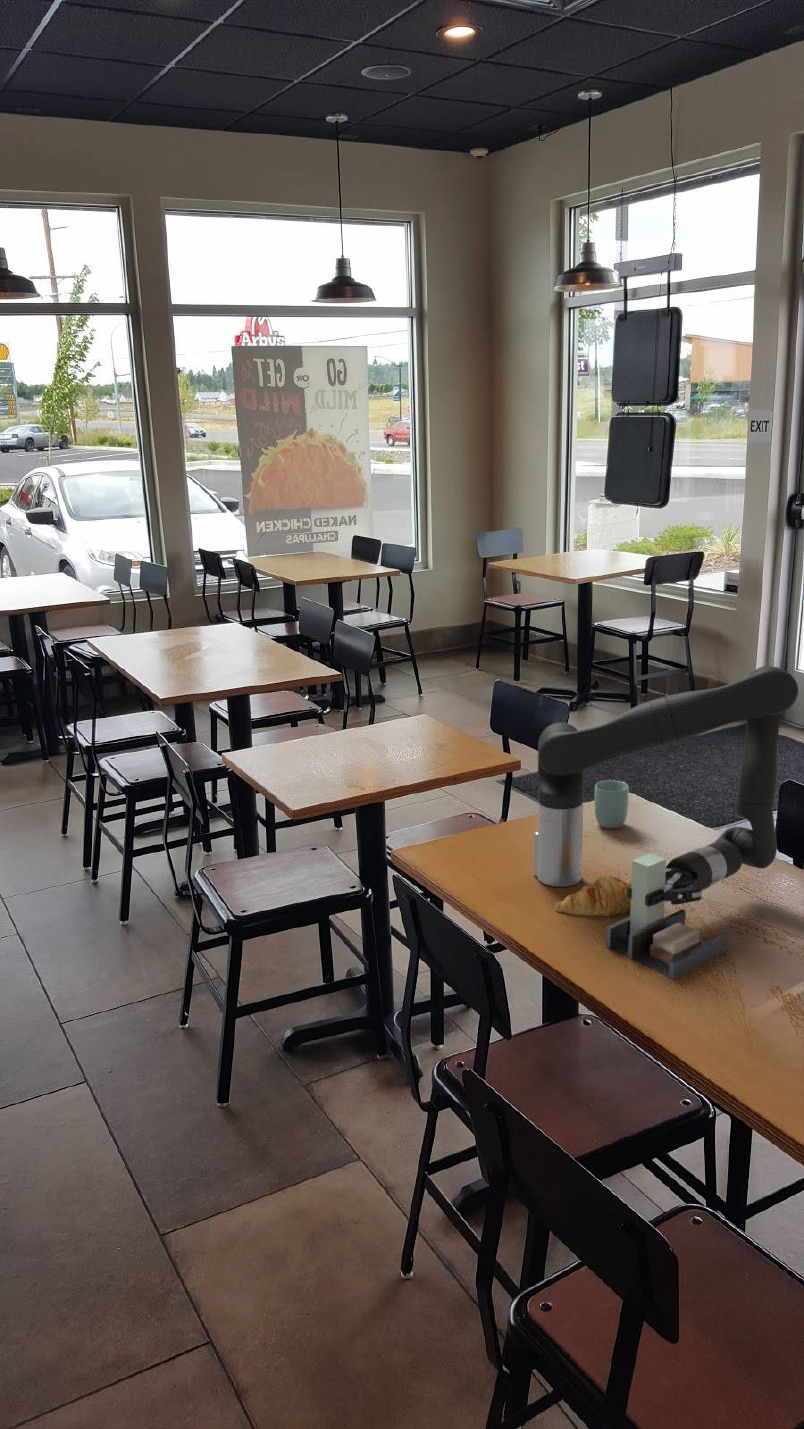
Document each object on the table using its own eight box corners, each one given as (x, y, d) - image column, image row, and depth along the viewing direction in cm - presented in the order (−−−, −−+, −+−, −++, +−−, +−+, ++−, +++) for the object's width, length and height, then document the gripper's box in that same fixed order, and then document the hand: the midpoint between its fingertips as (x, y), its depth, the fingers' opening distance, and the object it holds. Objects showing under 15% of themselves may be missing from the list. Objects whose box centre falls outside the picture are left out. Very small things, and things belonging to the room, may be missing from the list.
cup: (627, 832, 250) (628, 792, 247) (593, 831, 251) (594, 790, 248) (627, 820, 257) (629, 780, 254) (594, 818, 258) (595, 779, 256)
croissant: (561, 938, 209) (568, 914, 204) (544, 896, 216) (551, 872, 211) (661, 921, 214) (671, 897, 208) (642, 881, 221) (651, 857, 215)
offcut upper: (652, 944, 193) (653, 934, 192) (677, 932, 197) (678, 922, 196) (673, 954, 189) (674, 944, 189) (698, 941, 193) (699, 931, 193)
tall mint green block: (629, 940, 198) (632, 860, 194) (647, 931, 201) (650, 852, 197) (645, 947, 196) (648, 866, 191) (662, 938, 199) (666, 858, 194)
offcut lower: (649, 955, 193) (650, 945, 193) (677, 940, 198) (678, 931, 197) (672, 965, 189) (672, 955, 189) (700, 951, 194) (701, 940, 193)
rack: (605, 951, 197) (606, 924, 195) (658, 926, 206) (659, 899, 204) (673, 984, 185) (674, 955, 184) (726, 955, 194) (728, 928, 193)
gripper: (667, 841, 209) (608, 866, 198) (730, 863, 198) (670, 891, 188) (666, 876, 211) (607, 903, 201) (727, 901, 200) (668, 930, 190)
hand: (638, 897), depth 194 cm, fingers closed on tall mint green block, 3 cm apart
